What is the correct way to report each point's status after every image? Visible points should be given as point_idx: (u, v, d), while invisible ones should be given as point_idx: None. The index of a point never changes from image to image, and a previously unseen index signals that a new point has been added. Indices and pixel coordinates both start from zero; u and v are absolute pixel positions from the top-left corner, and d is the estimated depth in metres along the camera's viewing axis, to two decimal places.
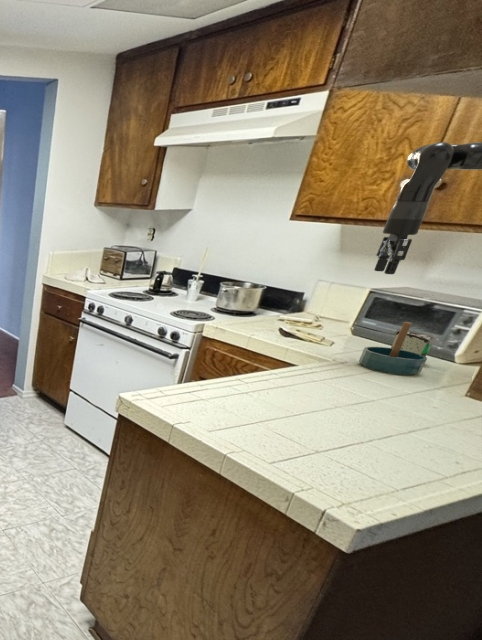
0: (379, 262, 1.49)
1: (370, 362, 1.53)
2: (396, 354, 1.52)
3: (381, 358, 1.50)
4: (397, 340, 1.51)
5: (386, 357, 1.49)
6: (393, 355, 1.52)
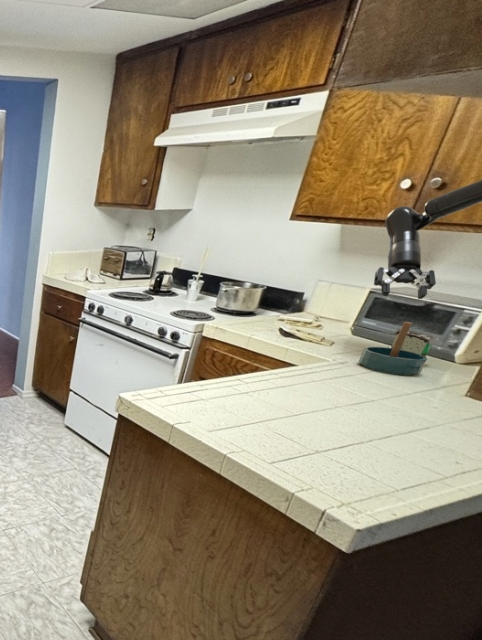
0: (418, 292, 1.54)
1: (370, 362, 1.53)
2: (396, 354, 1.52)
3: (381, 358, 1.50)
4: (397, 340, 1.51)
5: (386, 357, 1.49)
6: (393, 355, 1.52)
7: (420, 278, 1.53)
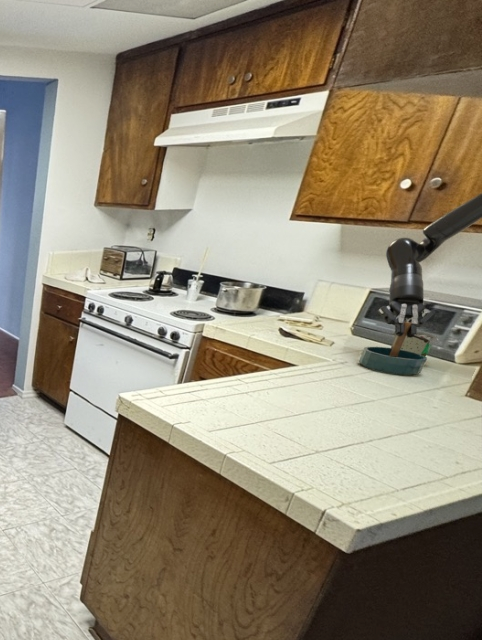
0: None
1: (370, 362, 1.53)
2: (396, 354, 1.52)
3: (381, 358, 1.50)
4: (397, 340, 1.51)
5: (386, 357, 1.49)
6: (393, 355, 1.52)
7: (415, 315, 1.48)
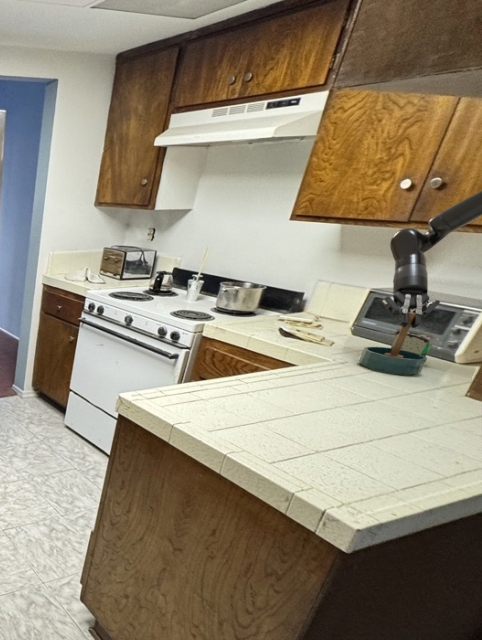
0: None
1: (370, 362, 1.53)
2: (400, 345, 1.50)
3: (381, 358, 1.50)
4: (401, 331, 1.50)
5: (386, 357, 1.49)
6: (397, 346, 1.51)
7: (419, 305, 1.47)
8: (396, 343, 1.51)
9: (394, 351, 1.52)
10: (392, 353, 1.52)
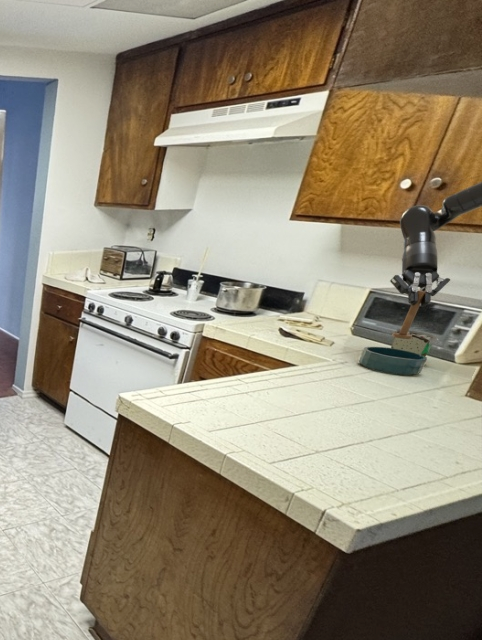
0: None
1: (370, 362, 1.53)
2: (409, 324, 1.48)
3: (381, 358, 1.50)
4: (410, 310, 1.47)
5: (386, 357, 1.49)
6: (406, 325, 1.48)
7: (429, 283, 1.44)
8: (405, 322, 1.48)
9: (403, 330, 1.49)
10: (400, 332, 1.50)
